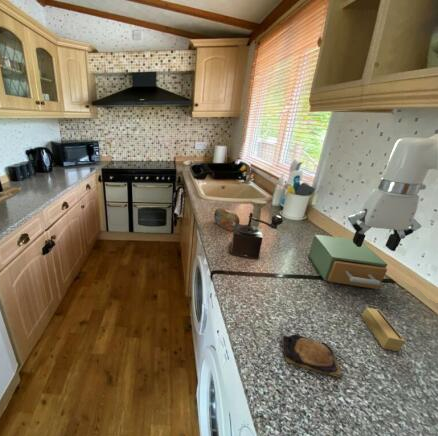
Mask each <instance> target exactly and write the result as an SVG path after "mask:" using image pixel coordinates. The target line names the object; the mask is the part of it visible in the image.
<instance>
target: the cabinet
mask: <svg viewBox="0 0 438 436" xmlns="http://www.w3.org/2000/svg"><path fill="white" fill-rule="evenodd" d="M308 257H309V259H310V260H311V262H312V264H313V265H314V266H315V268H316V269H317V271H318V273H319V274H320V276H321V277H322V280H323V281H325V282H326V281H327V282H329V281H328V277H329V273H330V270H331V267H332V265H333V262H334V259H335V260H343V261H350V262H358V263H365V264H372V265H379V267H385V268H386V269H387V267H388V263H387V262H386V261H384V260H383V258H381V256H379V255H378V254H377V253H376V252H374V251H373V250H372V248H370V247H369V246H368V245H366V243H365V242H363V243H362V246H361V247H357V246H356V245H355V244H354V243H353V238H349V237H348V238H347V237H340V236H331V235H321V234H314V236H313V239H312V243H311V246H310V248H309V253H308Z"/></svg>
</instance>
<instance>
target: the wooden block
mask: <svg viewBox="0 0 438 436" xmlns="http://www.w3.org/2000/svg"><path fill="white" fill-rule="evenodd" d="M361 319H362V320H363V321H364V323H365V324H366V326H367V327H368V329H369V330H370V331H371V333H372V334H373V336H374V337H375V339H376V340H377V342H378V343H379V345H380V346H381V347H382V349H383V350H388V351H394V352H400V350H401V348H402V347H403V345H404V343H405V339H404V337H402V335H401V334H400V333H399V332H398V331H397V329H396V328H395V327H394V326H393V324H392V323H391V322H390V321H389V320H388V318H387V317H386V316H385V314H384V313H383V312H382V311H381V309H378V308H372V307H365V309H364V311H363V313H362V316H361Z"/></svg>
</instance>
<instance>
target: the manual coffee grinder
mask: <svg viewBox="0 0 438 436" xmlns="http://www.w3.org/2000/svg"><path fill="white" fill-rule="evenodd" d="M252 219H253V220H255V221H258V222H259V223H261V224H264V225H266V226H268V227H270V228H271V229H274V230H277V229H278V226H279V225H282V224H283V223H284V219H283V217H281V216H280V215H272V216H271V223H269V222H267V221H265V220H262V219H260V220H259V219H256V218H253V213H252V212H249V215H248V223H247V224H242V223H239V224H235V227H234V230H233V233H232V237H231V238H232V239H231V244H230V255H232V256H235V257H241V258H247V259H248V258H249V259H254V260H255V259H256V260H259V258H260V252H261V247H262V243H263V239H264V235H263V230H262V227H260V226H258V227H256V226H252V225H251V220H252Z"/></svg>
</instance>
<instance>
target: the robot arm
mask: <svg viewBox="0 0 438 436" xmlns="http://www.w3.org/2000/svg"><path fill="white" fill-rule="evenodd" d="M429 170H435V171H438V133H436V134H434V135H432V136H430V137H414V136H413V137H411V136H410V137H401V138H399V139H398V140H397V141H396V142H395V144H394V146H393V149H392V151H391V154H390V156H389V159H388V161H387V164H386V166H385V169H384V172H383V174H382V177H381V179H380V182H379V184H378V187H377V188H373V189H372V190H371V192H370V193H369V195H368V196H367V198H366V200H365V201H364V203H363V205H362V208H361V209H360V212H358V213H356V214H353V215H349V217H347V220H348V222H349V224H350V226H351V227H352V228H353V229H354V231H355V232H354V236H353V238H352V239H353V243H354V244H355V245H356V246H357V247H361V246H362V243H364V240H365V238H366V234H365V233H367V232H368V231H369V230H371V228H373V229H374V228H375V229H384V230H392V233H390V235H389V236H388V238H387V241H386V242H385V247H386V248H387V249H388V250H390V251H391V252H396V250H397V249H398V247H399V245H400V243H401V242H402V241H401V240H404V239H405V238H406V237H408V236H409V235H411V234H413V233H414V232H416V231H417V230H419V229H421V228H422V225H421V223H420V222H419V221H417V220H416V219H415V216H416V213H417V210H418V206H419V201H420V195H419V192H420V191H424V190H426V188H427V185H426V184H424V180H425V178H426V176H427V174H428V172H429ZM358 221H359V222H360V223H358Z"/></svg>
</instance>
